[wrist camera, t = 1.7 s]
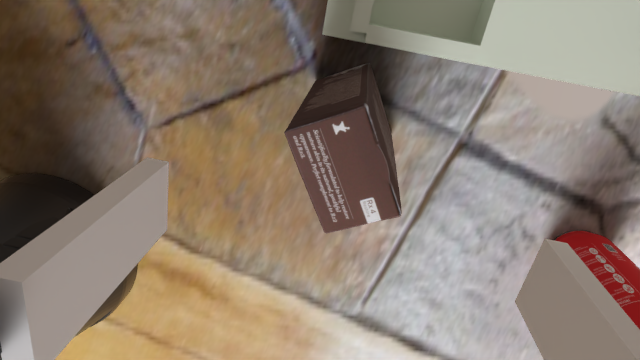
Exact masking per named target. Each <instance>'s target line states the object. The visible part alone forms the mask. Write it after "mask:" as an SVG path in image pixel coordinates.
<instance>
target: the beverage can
mask: <svg viewBox="0 0 640 360" xmlns="http://www.w3.org/2000/svg"><path fill="white" fill-rule="evenodd" d="M554 241H559V242H564V243H568V244H569V246H570V247H571V248H572V249H573V250H574V252H575V253H576V254H577V255H578V256H579V258H580V259H581V260H582V261H583V262H584V264H585V265H586V266H587V267H588V268H589V270H590V271H591V272H592V273H593V274H594V276H595V277H596V278H597V279H598V280H599V282H600V283H601V284H602V285H603V286H604V288H605V289H606V290H607V291H608V292H609V294H610V295H611V296H612V297H613V298H614V300H615V301H616V302H617V303H618V304H619V306H620V307H621V308H622V309H623V310H624V312H625V313H626V314H627V315H628V316H629V318H630V319H631V320H632V321H633V322H634V324H635V325H636V326H637V327H638V328H639V329H640V269H639V268H638V267H637V266H636V265H635V264H634V263H633V262H632V261H631V260H630V259H629V258H628V257H627V256H626V255H625V254H624V253H623V252H622V251H621V250H620V249H619V248H617V247H616V246H615V245H614V244H613V243H612V242H611V241H610V240H609V239H607V238H605V237H604V236H601V235H598V234H594V233H591V232H589V231H584V230H575V231H570V232H567V233H564V234H562V235H560V236H558V237H557V238H556V239H554Z"/></svg>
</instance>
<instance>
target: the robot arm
mask: <svg viewBox="0 0 640 360" xmlns="http://www.w3.org/2000/svg"><path fill="white" fill-rule="evenodd" d="M168 169H169V162H167V161H162V160H157V159H152V158H146V159H144V160H143V161H142V162H140V163H139V164H137V165H136V166H135V167H133V168H132V169H130V170H129V171H128V172H126V173H125V174H124V175H122V176H121V177H119V178H118V179H117V180H115V181H114V182H112V183H111V184H110V185H108V186H107V187H105V188H104V189H103V190H101V191H100V192H99V193H97V194H96V195H93V194H91V193H90V192H88V191H87V190H85V189H83V188H82V187H80V186H78V185H76V184H74V183H71V182H69V181H66V180H64V179H61V178H57V177H54V176H49V175H44V174H19V175H14V176H11V177H8V178H5V179H3V180H1V181H0V360H54V359H55V358H56V357H57V356H58V355H59V354H60V352H61V351H62V350H63V349H64V348H65V347H66V345H67V344H68V343H69V342H70V341H71V340H72V339H73V338H74V337H75V336H77V335H78V334H80V333H81V332H83V331H84V330H86V329H87V328H89V327H90V326H93V325H95V324H97V323H99V322H100V321H102V320H104V319H105V318H107V317H108V316H109V315H110V314H111V313H112V312H113V311H114V310H115V309H116V308H117V307H118V306H119V305H120V303H121V302H122V301H123V300H124V298H125V297H126V296H127V295H128V293H129V292H130V290H131V288H132V286H133V284H134V281H135V278H136V272H137V264H138V262H139V261H140V260H141V259H142V258H143V257H144V255H145V254H146V253H147V252H148V251H149V250H150V249H151V247H152V246H153V245H154V244H155V243H156V242H157V240H158V239H159V238H160V237H161V236H162V235H163V234H164V232H165V231H166V230H167V212H168ZM515 303H516V305H517V307H518V309H519V311H520V313H521V315H522V317H523V319H524V321H525V323H526V325H527V327H528V329H529V331H530V333H531V335H532V337H533V339H534V341H535V343H536V345H537V347H538V349H539V351H540V353H541V355H542V357H543V359H544V360H640V329H639V328H638V327H637V326H636V325H635V324H634V322H633V321H632V320H631V319H630V318H629V316H628V315H627V314H626V313H625V312H624V310H623V309H622V308H621V307H620V306H619V304H618V303H617V302H616V301H615V300H614V298H613V297H612V296H611V295H610V294H609V292H608V291H607V290H606V289H605V288H604V286H603V285H602V284H601V283H600V282H599V280H598V279H597V278H596V277H595V276H594V274H593V273H592V272H591V271H590V270H589V268H588V267H587V266H586V265H585V264H584V262H583V261H582V260H581V259H580V258H579V256H578V255H577V254H576V253H575V252H574V250H573V249H572V248H571V247H570V246H569V244H568V243H564V242H559V241H554V240H549V239H545V240H544V242H543V244H542V246H541V248H540V250H539V252H538V254H537V256H536V258H535V261H534V263H533V265H532V267H531V269H530V271H529V273H528V275H527V277H526V279H525V281H524V284H523V286H522V288H521V290H520V292H519V294H518V296H517V298H516V300H515Z"/></svg>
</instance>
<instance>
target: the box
mask: <svg viewBox="0 0 640 360" xmlns="http://www.w3.org/2000/svg"><path fill="white" fill-rule="evenodd" d="M285 135H286V138H287V140H288V143H289V146H290V148H291V151H292V154H293V156H294V159H295V162H296V164H297V167H298V169H299V172H300V174H301V177H302V179H303V181H304V184H305V186H306V189H307V191H308V194H309V196H310V199H311V201H312V204H313V206H314V209H315V211H316V213H317V215H318V218H319V221H320V223H321V225H322V227H323V230H324V232H325V233H330V232H335V231H339V230H344V229H348V228H352V227H356V226H360V225H364V224H368V223H372V222H377V221H381V220H386V219H391V218H396V217H400V216H401V202H400V194H399V187H398V180H397V172H396V164H395V157H394V149H393V142H392V135H391V131H390V127H389V124H388V120H387V117H386V113H385V110H384V107H383V103H382V100H381V96H380V93H379V90H378V86H377V83H376V80H375V77H374V73H373V70H372V67H371V65H370V63H367V64H363V65H359V66H357V67H354V68H351V69H348V70H345V71H342V72H340V73H337V74H334V75H331V76H328V77H325V78H322V79H320V80H316V81H315V83H314V84H313V86H312V88H311V89H310V91H309V93H308V94H307V96H306V98H305V99H304V101H303V103H302V104H301V106H300V108H299V110H298V111H297V113H296V114H295V116H294V117H293V119H292V121H291V123H290V124H289V126H288V128H287V129H286V131H285Z"/></svg>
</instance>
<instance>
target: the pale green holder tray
mask: <svg viewBox="0 0 640 360" xmlns="http://www.w3.org/2000/svg"><path fill="white" fill-rule="evenodd" d="M322 35H327V36H332V37H337V38H342V39H348V40H353V41H358V42H363V43H368V44H373V45H378V46H383V47H389V48H394V49H399V50H404V51H409V52H414V53H419V54H425V55H430V56H435V57H440V58H445V59H450V60H455V61H461V62H466V63H471V64H476V65H481V66H486V67H491V68H496V69H502V70H507V71H512V72H517V73H522V74H528V75H532V76H538V77H543V78H548V79H553V80H559V81H563V82H568V83H574V84H579V85H584V86H589V87H594V88H599V89H605V90H609V91H615V92H620V93H625V94H630V95H635V96H640V0H328V3H327V9H326V15H325V20H324V26H323V32H322Z"/></svg>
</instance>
